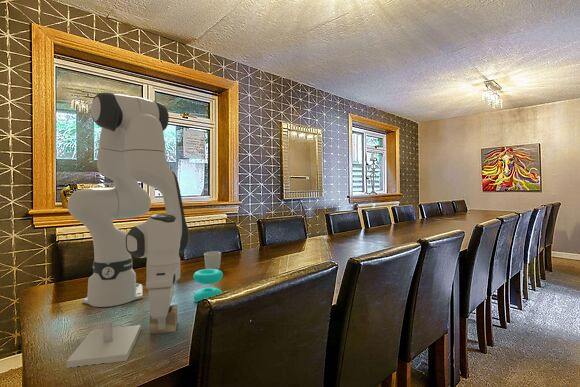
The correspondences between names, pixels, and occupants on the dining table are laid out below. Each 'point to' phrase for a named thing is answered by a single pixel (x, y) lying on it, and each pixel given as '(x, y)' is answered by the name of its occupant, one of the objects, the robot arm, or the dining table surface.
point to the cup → (212, 260)
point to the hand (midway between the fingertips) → (164, 322)
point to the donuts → (207, 278)
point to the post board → (105, 345)
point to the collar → (170, 322)
